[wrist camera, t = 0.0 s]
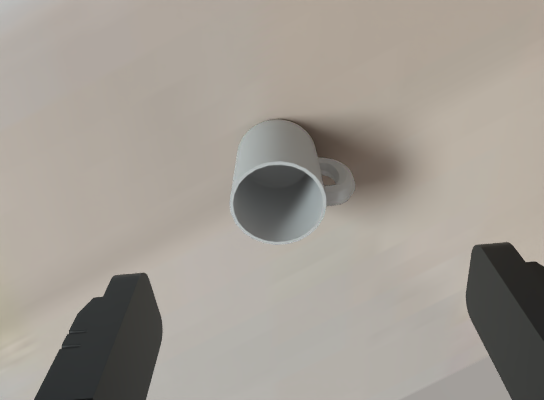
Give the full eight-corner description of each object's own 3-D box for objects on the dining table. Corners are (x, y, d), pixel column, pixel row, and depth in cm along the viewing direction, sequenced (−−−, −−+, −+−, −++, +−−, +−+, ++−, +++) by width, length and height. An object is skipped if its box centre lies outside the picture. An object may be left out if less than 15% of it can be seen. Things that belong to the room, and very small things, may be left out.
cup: (237, 115, 40) (229, 159, 32) (351, 120, 40) (370, 164, 32) (236, 187, 43) (229, 242, 36) (341, 192, 44) (356, 247, 36)
